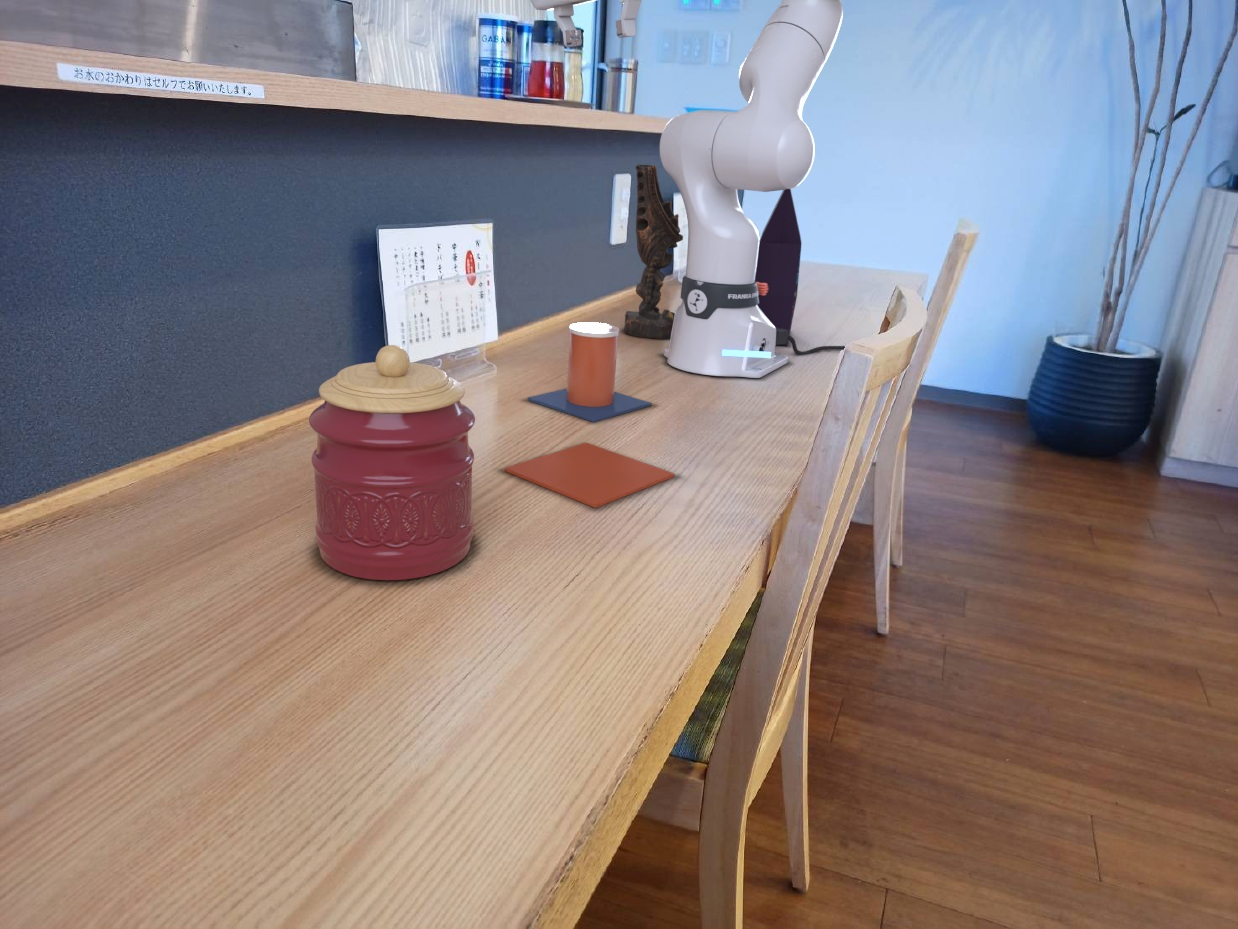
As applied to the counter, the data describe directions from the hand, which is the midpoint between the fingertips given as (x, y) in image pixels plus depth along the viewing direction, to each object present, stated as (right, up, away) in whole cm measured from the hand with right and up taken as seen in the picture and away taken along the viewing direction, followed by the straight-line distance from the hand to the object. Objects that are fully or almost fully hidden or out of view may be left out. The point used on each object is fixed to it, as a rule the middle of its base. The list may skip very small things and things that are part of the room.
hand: (599, 41), depth 107 cm
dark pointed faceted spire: (+31, -27, +64) cm, 76 cm away
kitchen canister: (-17, -58, -31) cm, 68 cm away
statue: (+8, -26, +60) cm, 66 cm away
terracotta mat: (-1, -52, -12) cm, 53 cm away
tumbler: (-2, -42, +13) cm, 45 cm away
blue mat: (-2, -43, +14) cm, 45 cm away
